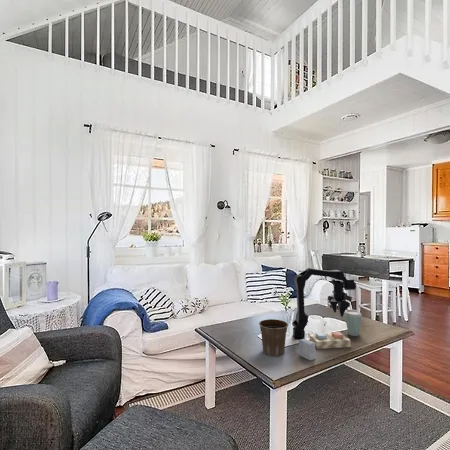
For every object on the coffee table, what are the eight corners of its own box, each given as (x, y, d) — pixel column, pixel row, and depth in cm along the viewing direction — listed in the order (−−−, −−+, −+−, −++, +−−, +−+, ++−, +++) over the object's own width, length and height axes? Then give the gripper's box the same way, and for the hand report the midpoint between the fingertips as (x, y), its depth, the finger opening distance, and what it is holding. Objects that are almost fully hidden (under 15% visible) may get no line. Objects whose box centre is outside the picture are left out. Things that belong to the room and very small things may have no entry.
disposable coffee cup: (365, 336, 195) (365, 312, 195) (352, 338, 192) (351, 314, 192) (354, 330, 205) (353, 308, 205) (340, 332, 202) (340, 310, 202)
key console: (317, 348, 176) (317, 341, 176) (309, 341, 188) (309, 334, 188) (350, 346, 178) (350, 340, 178) (340, 339, 190) (340, 332, 190)
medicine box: (315, 358, 163) (315, 342, 163) (309, 360, 161) (309, 344, 161) (304, 353, 170) (304, 338, 170) (298, 355, 167) (298, 339, 167)
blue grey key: (319, 341, 180) (319, 336, 180) (315, 338, 185) (315, 333, 185) (327, 340, 180) (327, 335, 180) (323, 337, 185) (323, 332, 185)
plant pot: (294, 355, 168) (293, 326, 168) (268, 360, 162) (267, 329, 162) (278, 344, 183) (278, 317, 183) (254, 348, 177) (254, 321, 177)
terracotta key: (335, 340, 181) (335, 335, 181) (331, 337, 186) (331, 332, 186) (343, 339, 181) (343, 334, 181) (339, 336, 186) (339, 331, 186)
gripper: (358, 292, 187) (358, 318, 186) (343, 286, 205) (343, 310, 205) (340, 293, 185) (340, 319, 185) (327, 287, 204) (327, 310, 204)
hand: (338, 314), depth 195 cm, fingers open, 9 cm apart
